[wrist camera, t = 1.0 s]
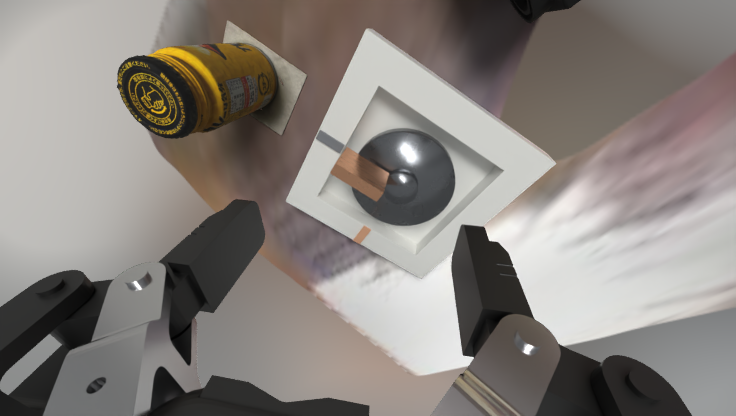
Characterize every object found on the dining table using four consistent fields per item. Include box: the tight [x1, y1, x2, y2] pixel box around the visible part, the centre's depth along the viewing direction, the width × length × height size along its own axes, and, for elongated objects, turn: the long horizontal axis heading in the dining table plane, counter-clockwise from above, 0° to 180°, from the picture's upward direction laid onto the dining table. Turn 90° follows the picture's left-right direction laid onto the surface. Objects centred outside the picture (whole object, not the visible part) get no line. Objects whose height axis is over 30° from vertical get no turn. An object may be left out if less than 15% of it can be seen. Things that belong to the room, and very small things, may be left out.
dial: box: [330, 128, 455, 226], centre depth 27 cm, size 12×11×6 cm
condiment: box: [117, 20, 307, 138], centre depth 23 cm, size 7×8×12 cm
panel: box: [286, 29, 556, 279], centre depth 29 cm, size 20×20×3 cm
